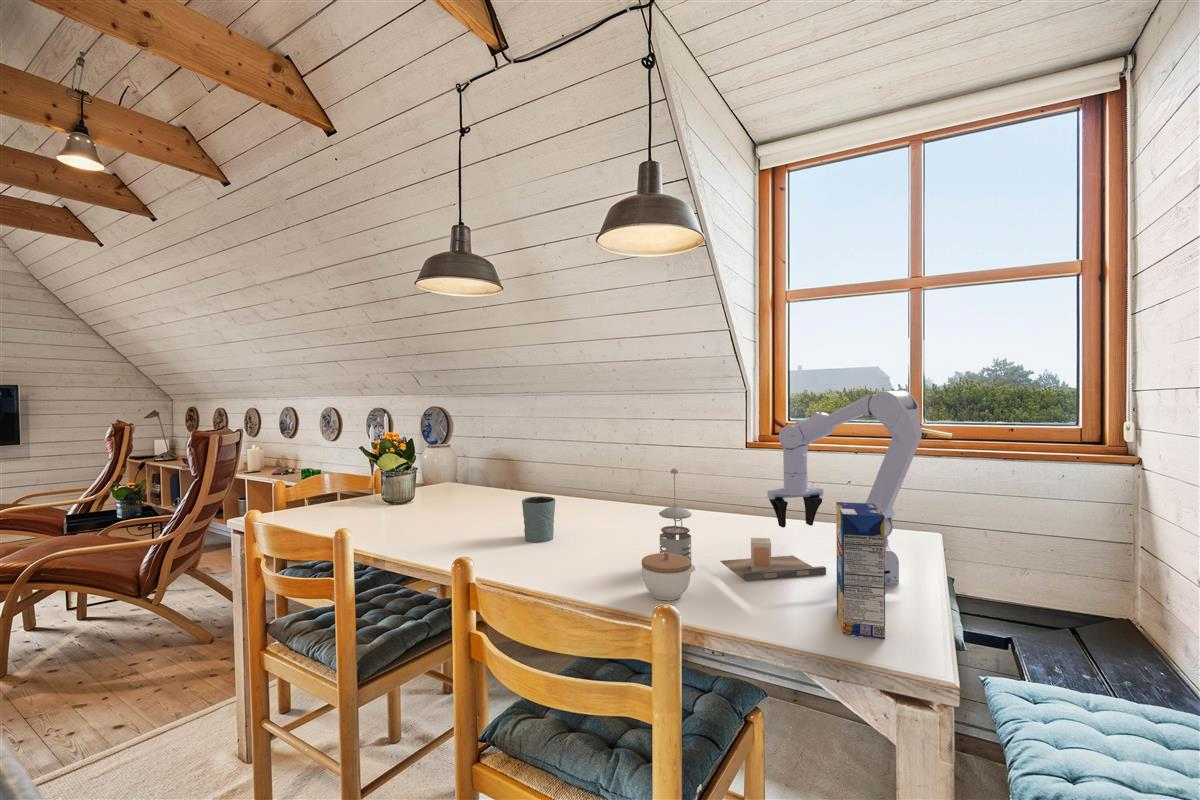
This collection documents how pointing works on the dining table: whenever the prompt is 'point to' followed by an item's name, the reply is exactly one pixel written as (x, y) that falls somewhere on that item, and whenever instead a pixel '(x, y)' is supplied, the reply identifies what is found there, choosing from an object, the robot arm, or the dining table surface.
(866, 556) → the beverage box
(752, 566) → the carton
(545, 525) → the teal textured cup
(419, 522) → the dining table surface
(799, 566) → the shelf board
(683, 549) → the french press
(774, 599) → the dining table surface
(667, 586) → the lidded jar
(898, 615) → the dining table surface
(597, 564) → the dining table surface
